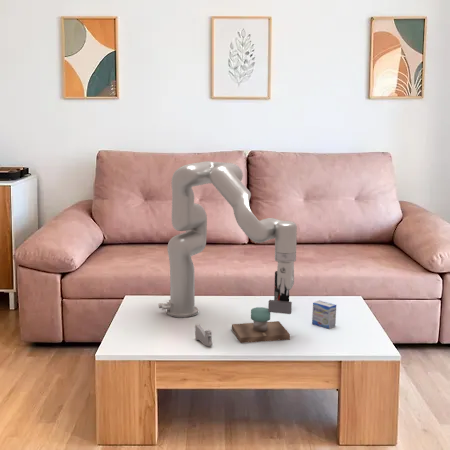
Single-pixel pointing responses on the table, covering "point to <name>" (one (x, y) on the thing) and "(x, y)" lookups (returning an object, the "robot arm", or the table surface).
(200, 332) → the grey flat irregular piece
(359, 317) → the table surface
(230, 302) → the table surface
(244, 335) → the base
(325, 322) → the medicine box
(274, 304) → the lock handle
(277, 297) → the deodorant
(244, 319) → the table surface
